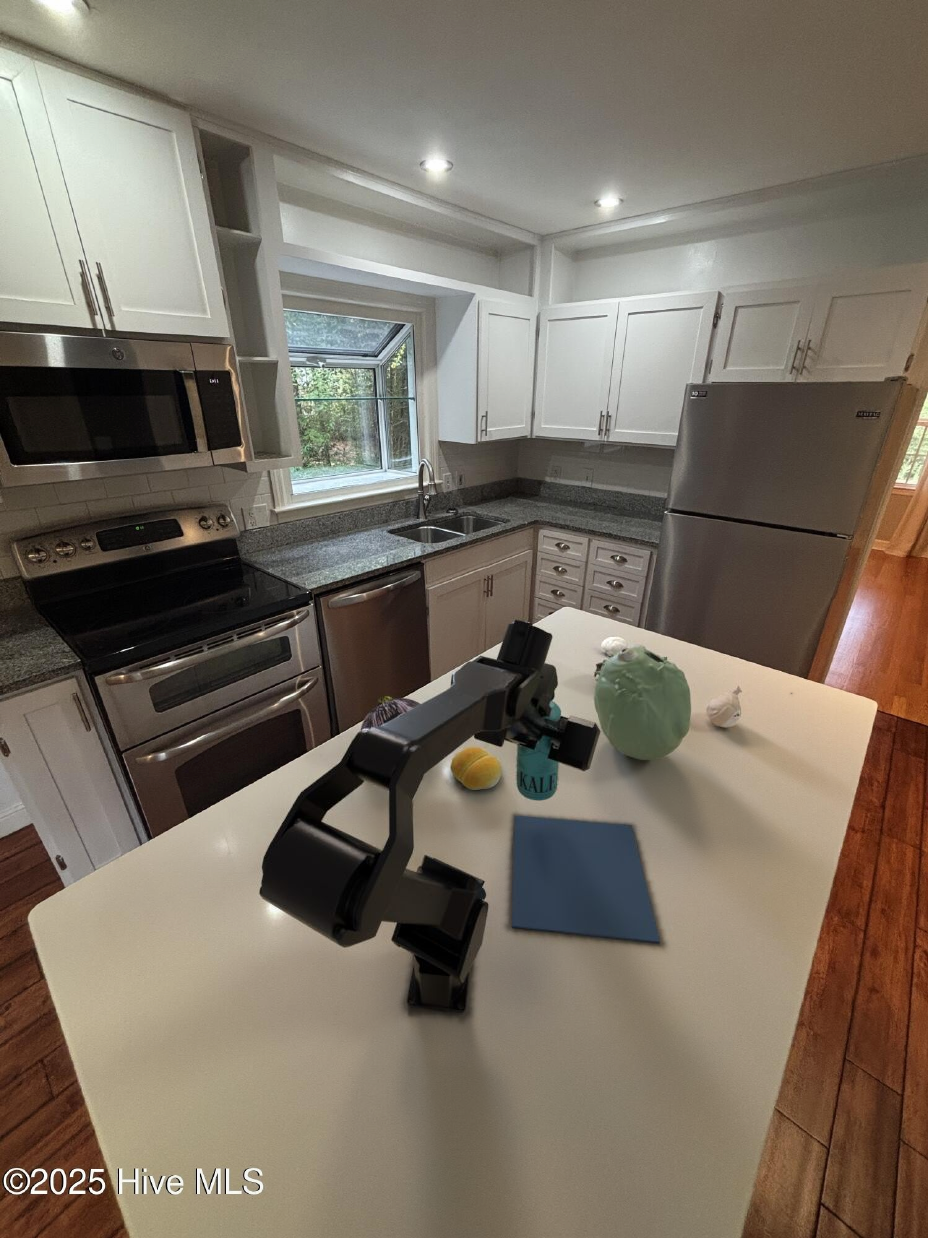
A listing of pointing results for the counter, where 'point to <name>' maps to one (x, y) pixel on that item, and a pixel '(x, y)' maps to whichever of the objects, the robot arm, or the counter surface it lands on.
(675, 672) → the cabbage
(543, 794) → the beverage bottle
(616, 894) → the cloth
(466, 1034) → the counter surface
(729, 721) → the garlic bulb
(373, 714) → the decorative flower
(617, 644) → the dumpling
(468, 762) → the bread roll
